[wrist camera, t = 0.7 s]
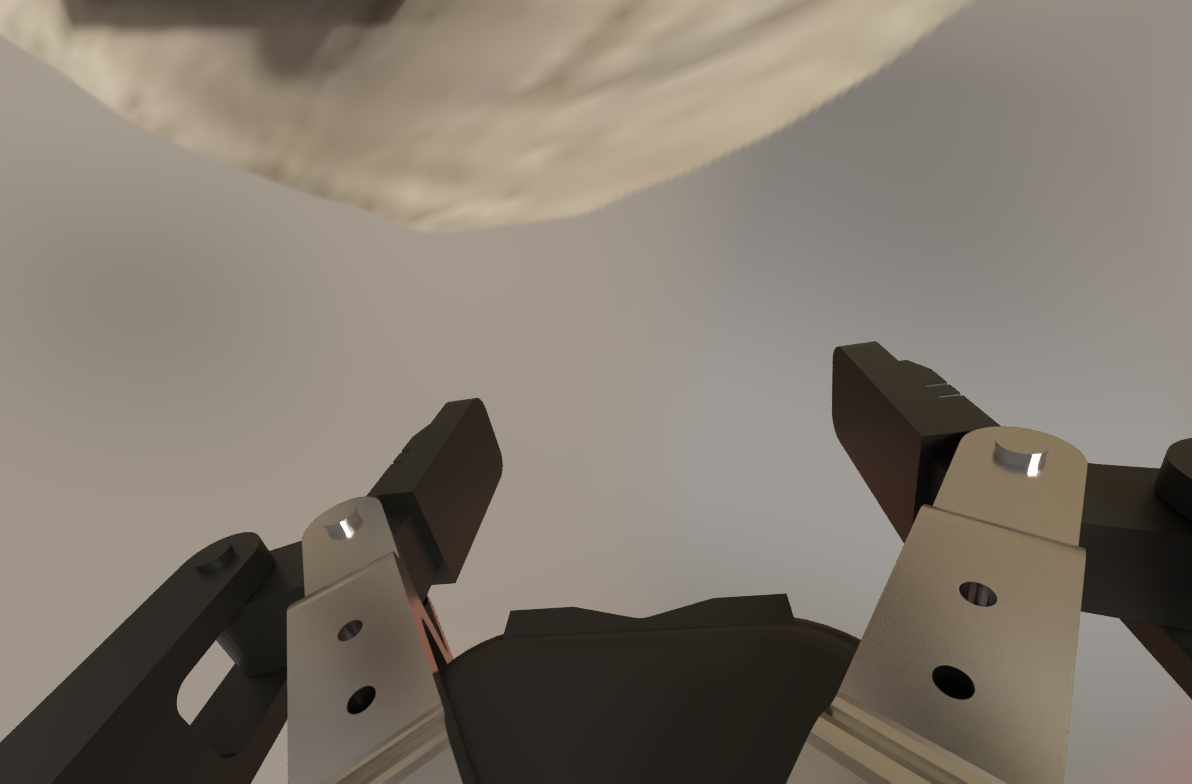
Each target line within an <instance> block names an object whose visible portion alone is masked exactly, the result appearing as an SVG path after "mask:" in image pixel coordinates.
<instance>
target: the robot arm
mask: <svg viewBox="0 0 1192 784" xmlns="http://www.w3.org/2000/svg"><path fill="white" fill-rule="evenodd" d="M832 377H833V378H832V380H833V381H832V418H833V424H834V429H835V432H836V435H837V437H838V439H839V441H840V443H841V444H842V446H843V447H844V449H845V451H846V452H847V454H848V455H849V457H850V458H851V460H852V462H853V463H854V465H855V466H856V468H857V470H858V471H859V473H860V474H861V476H862V477H863V479H864V481H865V482H866V483H867V485H868V487H869V488H870V490H871V492H872V493H873V495H874V496H875V498H876V499H877V501H878V503H879V504H880V506H881V508H882V509H883V511H884V512H885V514H886V515H887V517H888V519H889V520H890V522H891V523H892V525H893V526H894V528H895V530H896V531H897V533H898V534H899V536H900V538H901V539H902V541H903V542H904V546H903V548H902V551H901V553H900V555H899V557H898V559H897V561H896V564H895V566H894V568H893V570H892V573H891V575H890V577H889V579H888V582H887V584H886V586H885V588H884V590H883V593H882V595H881V597H880V599H879V602H878V604H877V606H876V608H875V611H874V613H873V615H872V617H871V619H870V622H869V624H868V626H867V628H866V631H865V633H864V635H863V637H862V639H861V640H860V639H858V638H856V637H854V636H852V635H850V634H848V633H845V632H843V631H840V630H838V629H835V628H832V627H830V626H827V625H824V624H820V623H817V622H813V621H809V620H805V619H800V618H794V617H793V614H792V610H791V607H790V604H789V601H788V597H787V594H774V595H758V596H741V597H725V598H713V599H709V600H705V601H702V602H699V603H695V604H692V605H688V606H685V607H682V608H678V609H675V610H671V611H668V612H664V613H661V614H658V615H654V616H651V617H646V618H632V617H626V616H621V615H616V614H610V613H604V612H599V611H594V610H588V609H582V608H577V607H564V608H548V609H532V610H515V611H510V614H509V618H508V621H507V625H506V628H505V632H504V634H502V635H499V636H496V637H494V638H491V639H489V640H486V641H484V642H482V643H480V644H478V645H476V646H474V647H472V648H471V649H469V650H467V651H465V652H464V653H462V654H461V655H459V656H458V657H456V658H455V659H453V656H452V654H451V651H450V649H449V646H448V643H447V641H446V638H445V636H444V633H443V631H442V628H441V625H440V623H439V620H438V617H437V615H436V612H435V610H434V607H433V605H432V603H431V601H430V599H429V597H428V595H427V593H428V591H429V589H430V587H431V585H437V584H450V583H456V580H457V578H458V576H459V574H460V571H461V569H462V567H463V564H464V562H465V560H466V557H467V555H468V553H469V550H470V548H471V545H472V543H473V541H474V539H475V536H476V534H477V532H478V529H479V527H480V524H481V522H482V520H483V518H484V515H485V513H486V511H487V508H488V506H489V504H490V501H491V499H492V497H493V494H494V492H495V490H496V487H497V485H498V483H499V480H500V478H501V474H502V467H503V464H502V456H501V452H500V448H499V446H498V443H497V440H496V437H495V434H494V431H493V428H492V425H491V422H490V420H489V417H488V414H487V411H486V408H485V406H484V404H483V402H482V401H481V400H480V399H479V398H473V399H466V400H460V401H453V402H447V403H446V404H445V405H444V407H443V408H442V409H441V411H440V412H439V413H438V414H437V416H436V417H435V419H434V420H433V421H432V422H431V424H429V425H428V426H427V427H425V428H424V429H423V430H421V431H420V432H419V433H417V434H416V435H415V436H413V437H412V438H411V440H410V441H409V442H408V443H407V445H406V446H405V447H404V449H403V450H402V453H400V454H399V455H398V456H397V458H396V459H395V460H394V462H393V463H394V464H392V465H390V467H389V468H388V469H387V470H386V472H385V473H384V474H383V476H382V477H381V478H380V479H379V481H378V482H377V483H376V485H375V486H374V487H373V488H372V490H371V491H370V492H369V493H368V495H367V496H366V497H358V498H354V499H350V500H347V501H345V502H342V503H340V504H338V505H336V506H334V507H332V508H330V509H329V510H327V511H326V512H324V513H322V514H321V515H320V516H319V517H317V518H316V519H315V520H314V521H313V522H312V523H311V524H310V525H309V526H308V528H307V529H306V531H305V532H304V534H303V537H302V541H299V542H296V543H293V544H290V545H287V546H284V547H281V548H278V549H274V550H271V551H269V550H268V549H267V547H266V546H265V545H264V543H263V542H262V540H261V538H260V537H259V536H258V535H257V534H256V533H253V532H244V533H239V534H235V535H231V536H229V537H226V538H223V539H221V540H219V541H217V542H215V543H213V544H211V545H209V546H207V547H206V548H204V549H202V550H201V551H199V552H198V553H197V554H195V555H194V556H192V557H191V558H190V559H189V560H187V561H186V562H185V563H184V564H183V565H182V566H181V567H180V568H179V569H178V570H177V571H176V572H175V573H174V574H173V575H172V576H170V577H169V578H168V579H167V580H166V581H165V582H164V583H163V584H162V585H161V586H160V587H159V588H158V589H157V590H156V591H155V592H154V593H153V594H152V595H151V596H150V597H149V598H148V599H147V600H146V601H145V602H144V603H143V604H142V605H141V606H140V607H139V608H138V609H137V610H136V611H135V612H134V613H133V614H132V615H131V616H130V617H129V618H127V619H126V620H125V621H124V622H123V623H122V624H121V625H120V626H119V627H118V628H117V629H116V630H115V631H114V632H113V633H112V634H111V635H110V636H109V637H108V638H107V639H106V640H105V641H104V642H103V643H102V644H101V645H100V646H99V647H98V648H97V649H96V650H95V651H94V652H93V653H92V654H91V655H89V656H88V658H86V660H84V661H83V662H82V663H81V664H80V665H79V666H78V667H77V668H76V669H75V670H74V671H73V672H72V673H71V674H70V675H69V676H68V677H67V678H66V679H65V680H64V681H63V682H62V683H61V684H60V685H59V686H58V687H57V688H56V689H55V690H54V691H53V692H52V693H51V694H50V695H49V696H47V697H46V698H45V699H44V701H42V702H41V703H40V704H39V705H38V706H37V707H36V708H35V709H34V710H33V711H32V712H31V713H30V714H29V715H28V716H27V717H26V718H25V719H24V720H23V721H22V722H21V723H20V724H19V725H18V726H17V727H16V728H15V729H14V730H13V731H12V732H11V733H10V734H9V735H7V736H6V737H5V738H4V739H3V741H1V742H0V784H251V782H252V780H253V779H254V777H255V775H256V773H257V772H258V770H259V768H260V766H261V765H262V763H263V761H264V759H265V757H266V756H267V754H268V752H269V750H270V749H271V747H272V745H273V743H274V742H275V740H276V738H277V736H278V734H279V733H280V731H281V729H282V728H283V726H284V724H285V722H286V720H287V719H288V784H1064V776H1065V766H1066V756H1067V745H1068V735H1069V725H1070V715H1071V704H1072V694H1073V684H1074V673H1075V664H1076V653H1077V643H1078V633H1079V623H1080V612H1081V611H1082V612H1087V613H1093V614H1099V615H1104V616H1110V617H1115V618H1120V620H1121V621H1122V622H1123V623H1124V624H1125V625H1126V626H1127V628H1128V629H1129V630H1130V631H1131V632H1132V633H1133V634H1134V635H1135V637H1136V638H1137V639H1138V640H1139V641H1140V642H1141V643H1142V644H1143V645H1144V647H1145V648H1146V649H1147V650H1148V651H1149V652H1150V653H1151V654H1152V656H1153V657H1154V658H1155V659H1156V660H1157V661H1158V662H1159V663H1160V664H1161V666H1162V667H1163V668H1164V669H1165V670H1166V671H1167V672H1168V673H1169V675H1170V676H1171V677H1172V678H1173V679H1174V680H1175V681H1176V682H1177V683H1178V684H1179V686H1180V687H1181V688H1182V689H1183V690H1184V691H1185V692H1186V694H1187V695H1188V696H1189V697H1190V698H1191V699H1192V438H1189V439H1184V440H1180V441H1178V442H1176V443H1174V444H1172V445H1171V446H1170V447H1169V448H1168V450H1167V452H1166V455H1165V458H1164V460H1163V463H1162V466H1161V468H1160V469H1157V468H1143V467H1129V466H1116V465H1101V464H1092V463H1087V460H1086V458H1085V456H1084V455H1083V454H1082V453H1081V451H1080V450H1078V449H1077V448H1076V447H1075V446H1073V445H1072V444H1070V443H1068V442H1066V441H1064V440H1062V439H1060V438H1058V437H1055V436H1052V435H1050V434H1047V433H1043V432H1040V431H1036V430H1031V429H1026V428H1019V427H1006V426H1005V427H1004V426H1003V427H1001V426H1000V425H999V424H997V423H996V422H995V421H994V420H993V419H991V418H990V417H989V416H988V415H987V414H985V413H984V412H983V411H982V410H980V409H979V408H978V407H977V406H975V405H974V404H973V403H972V402H971V401H969V400H968V399H967V398H966V397H965V396H960V392H958V391H957V390H956V389H955V388H953V387H952V386H951V385H947V382H946V381H945V380H944V379H943V378H941V377H940V376H939V375H938V374H937V373H935V372H934V371H933V370H932V369H929V368H927V367H924V366H921V365H919V364H916V363H914V362H911V361H908V360H903V361H898V360H897V359H896V358H894V357H893V356H892V355H891V354H890V353H889V352H888V351H887V350H886V349H884V348H883V347H882V346H881V345H880V344H879V343H877V342H875V341H874V342H868V343H860V344H853V345H846V346H839V347H836V348H835V350H834V353H833V376H832ZM215 640H217V642H218V643H219V644H220V645H221V647H222V648H223V649H224V650H225V651H226V653H227V654H228V655H229V656H230V657H231V659H232V660H233V661H234V662H235V664H234V666H233V667H232V669H231V670H230V671H229V673H228V674H227V676H226V677H225V678H224V680H223V681H222V682H221V684H220V685H219V686H218V688H217V689H216V691H215V692H214V693H213V695H212V696H211V697H210V699H209V700H208V702H207V703H206V705H205V706H204V707H203V708H202V710H201V711H200V713H199V714H198V716H197V717H196V718H195V719H194V721H193V722H192V724H191V725H189V724H188V723H187V722H186V721H185V720H184V719H183V718H182V717H181V716H180V715H179V712H178V710H177V695H178V692H179V688H180V686H181V684H182V682H183V680H184V679H185V678H186V676H187V675H188V674H189V673H190V671H191V670H192V669H193V668H194V666H195V665H196V664H197V663H198V661H199V660H200V659H201V658H202V656H203V655H204V654H205V653H206V651H207V650H208V649H209V648H210V646H211V645H212V644H213V643H214V641H215Z"/></svg>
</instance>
